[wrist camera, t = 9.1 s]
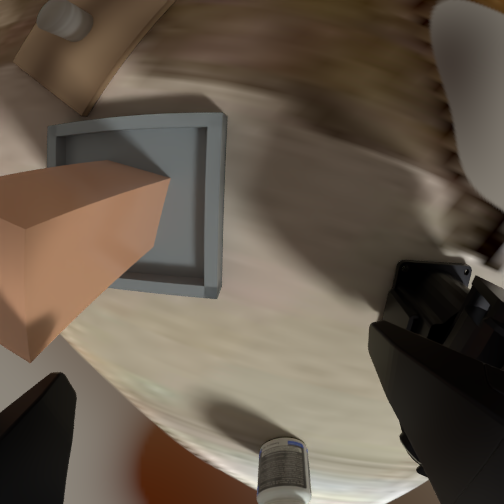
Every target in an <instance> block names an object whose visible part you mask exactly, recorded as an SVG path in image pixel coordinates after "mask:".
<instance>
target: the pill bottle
mask: <svg viewBox="0 0 504 504" xmlns="http://www.w3.org/2000/svg"><path fill="white" fill-rule="evenodd" d="M311 496H312V494H311V483H310V470H309V458H308V449H307V447H306V445H305V444H304V443H303V442H301V441H299V440H297V439H294V438H277V439H273V440H271V441H268V442H266V443H265V444H264V445H263V446H262V447H261V449H260V453H259V469H258V488H257V501H258V503H259V504H308V503H309V502H310V500H311Z"/></svg>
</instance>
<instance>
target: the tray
mask: <svg viewBox="0 0 504 504" xmlns="http://www.w3.org/2000/svg"><path fill="white" fill-rule="evenodd" d="M227 118H228V116H226V115H225V114H224V113H167V114H148V115H134V116H122V117H111V118H102V119H93V120H85V121H78V122H71V123H64V124H58V125H52V126H48V132H47V168H50V167H56V166H63V165H70V164H78V163H85V162H94V161H102V160H110V161H113V162H117V163H120V164H124V165H127V166H131V167H134V168H138V169H141V170H145V171H148V172H152V173H155V174H158V175H162V176H165V177H168V178H171V179H170V182H169V186H168V190H167V194H166V197H165V201H164V205H163V209H162V213H161V217H160V221H159V225H158V229H157V234H156V238H155V242H154V247H153V248H152V249H150V250H149V251H148V252H147V253H146V254H145V255H144V256H142V257H141V258H140V259H139V260H138V261H137V262H136V263H134V264H133V265H132V266H131V267H130V268H129V269H128V270H127V271H125V272H124V273H123V274H122V275H121V276H120V277H119V278H118V279H117V280H116V281H114V282H113V283H112V284H111V285H110V286H109V287H108V288H114V289H122V290H131V291H140V292H149V293H158V294H168V295H178V296H188V297H199V298H210V299H217V298H218V295H219V293H220V290H221V287H222V252H223V214H224V185H225V160H226V138H227Z"/></svg>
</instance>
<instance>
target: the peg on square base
mask: <svg viewBox="0 0 504 504" xmlns="http://www.w3.org/2000/svg"><path fill="white" fill-rule="evenodd" d="M174 2H175V0H49V1H48V2H47V3H46V4H45V5H44V6H43V7H42V9H41V10H40V12H39V14H38V16H37V22H36V24H35V25H34V27H33V29H32V30H31V32H30V33H29V35H28V36H27V38H26V40H25V41H24V43H23V44H22V46H21V48H20V49H19V51H18V53H17V55H16V56H15V58H14V60H13V63H14V64H16V65H17V66H18V67H20V68H21V69H22V70H23V71H25V72H26V73H27V74H28V75H30V76H31V77H32V78H34V79H35V80H36V81H37V82H39V83H40V84H41V85H43V86H44V87H45V88H46V89H48V90H49V91H50V92H52V93H53V94H54V95H55V96H57V97H58V98H59V99H60V100H62V101H63V102H64V103H66V104H67V105H68V106H69V107H71V108H72V109H73V110H75V111H76V112H77V113H78V114H80V115H81V116H88V114H89V113H90V111H91V110H92V108H93V106H94V105H95V103H96V102H97V100H98V99H99V97H100V96H101V94H102V93H103V91H104V90H105V88H106V87H107V85H108V84H109V82H110V81H111V79H112V78H113V76H114V75H115V74H116V72H117V71H118V69H119V68H120V67H121V65H122V64H123V63H124V61H125V60H126V59H127V57H128V56H129V55H130V53H131V52H132V51H133V50H134V48H135V47H136V46H137V44H138V43H139V42H140V41H141V40H142V38H143V37H144V36H145V35H146V33H147V32H148V31H149V30H150V29H151V28H152V26H153V25H154V24H155V23H156V22H157V21H158V19H159V18H160V17H161V16H162V15H163V14H164V13H165V12H166V11H167V9H168V8H169V7H170V6H171V5H172V4H173V3H174Z"/></svg>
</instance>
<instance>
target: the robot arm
mask: <svg viewBox="0 0 504 504" xmlns="http://www.w3.org/2000/svg"><path fill="white" fill-rule="evenodd" d="M405 265H406V269H405V270H402V267H403V266H405ZM466 269H467V271H466V272H465V273H464V271H465V270H466ZM471 272H472V269H471V267H470V266H469V265H467V264H457V263H443V262H428V261H414V260H402V261H400V262H399V263H398V264H397V268H396V273H395V278H394V282H393V287H392V289H391V290H390V291H389V294H388V298H387V302H386V307H385V311H384V315H383V319H382V320H380V321H377V322H373V323H371V324H370V327H369V341H368V350H369V354H370V357H371V359H372V362H373V364H374V366H375V369H376V371H377V374H378V377H379V379H380V382H381V384H382V387H383V389H384V392H385V394H386V397H387V399H388V401H389V403H390V404H391V406H392V408H393V410H394V412H395V414H396V416H397V418H398V419H399V422H400V426H401V430H402V433H401V434H400V436H399V437H400V441H401V443H402V444H403V446H404V447H405V449H406V451H407V452H408V454H409V455H410V456H411V458H412V459H413V460H414V461H415V462H417V463H418V464H419V465H420V466H418V467H417V469H416V471H417V472H418V473H419V474H421V475H423V476H425V477H428V478H429V480H430V482H431V484H432V486H433V489H434V491H435V493H436V495H437V497H438V499H439V501H440V503H441V504H504V289H503V288H501V287H499V286H497V285H495V284H493V283H491V282H489V281H486V280H484V279H482V278H480V277H478V276H475V278H474V280H473V282H472V287H471V289H469V288H468V284H469V280H470V276H471ZM76 400H77V397H76V392H75V390H74V389H73V387H72V385H71V384H70V382H69V381H68V379H67V377H66V376H65V374H63V373H61V372H53V373H50V374H49V375H48V376H46V377H45V378H44V379H42V380H41V381H40V382H38V384H36V385H35V386H33V387H32V388H31V389H30V390H28V391H27V392H26V393H24V394H23V395H22V396H21V397H19V398H18V399H17V400H16V401H14V402H13V403H12V404H11V405H9V406H8V407H7V408H6V409H4V410H3V411H2V412H1V413H0V504H63V502H64V493H65V485H66V477H67V470H68V464H69V457H70V452H71V446H72V439H73V429H74V418H75V408H76Z"/></svg>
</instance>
